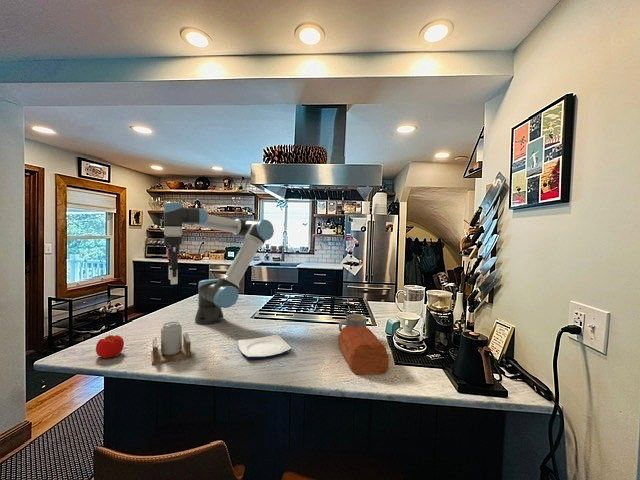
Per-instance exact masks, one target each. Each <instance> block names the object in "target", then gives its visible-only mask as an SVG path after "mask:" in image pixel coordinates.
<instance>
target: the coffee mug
mask: <svg viewBox="0 0 640 480" xmlns="http://www.w3.org/2000/svg"><path fill="white" fill-rule="evenodd" d="M343 325H345V327H346V326H355V327H356V326H364V327H366V328H367V317H366V316H365V315H363V314H353V313H352V314H347V315H346V316H345V320H341V321H339V323H338V330H339V332H341V330H342V329H343V328H342V326H343Z"/></svg>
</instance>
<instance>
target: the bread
mask: <svg viewBox="0 0 640 480" xmlns="http://www.w3.org/2000/svg"><path fill="white" fill-rule="evenodd" d="M339 332H340V331H339ZM337 340H338V341H337V342H338V343H337V345H338V348H339V349H340V351H341V352H340V353H341V354H342V355H343V358H344V360H345V362H346V364H347V365H348V368H349V369H350V371H351V372H352V373H353V374H354V375H361V376H369V375H371V376H373V375H383V374H386V372H387V371H388V370H389V363H390V361H389V360H390V357H389V354H388V353H387V347H386V346H385V345H384V344H383V343H382V342H381V341H380V340H379V339H378V337H377V336H376V335H375V334H374V332H373V331H372V330H371V329H370V328H369V327H367V326H366V327H364V326H356V327H355V326H346V325H345V326H344V327H343V328H342V330H341V332H340V333H339V335H338V338H337Z"/></svg>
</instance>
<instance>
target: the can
mask: <svg viewBox="0 0 640 480" xmlns="http://www.w3.org/2000/svg"><path fill="white" fill-rule="evenodd" d="M182 326H183V325H182V324H181V322H179V321H168V322H165V323H163V324H162V327H161V328H160V349H161V353H162V354H164V355H166V356H170V355H175V354H177V353H179V352H180V351H181V349H182V346H183V341H182V340H183V338H182V337H183V336H182V335H183V333H182V332H183V329H182V328H183V327H182Z"/></svg>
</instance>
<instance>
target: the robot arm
mask: <svg viewBox="0 0 640 480" xmlns="http://www.w3.org/2000/svg"><path fill="white" fill-rule="evenodd" d="M183 225H189V226H193V227H194V226H195V227H200V228H204V229H205V228H206V229H211V230H217V231H221V232H222V231H223V232H228V233H232V234H233V235H236V236H240V237H243V238H245V240H244V242H243V244H242V245H241V247H240V249H239V250H238V252H237V253H236V255H235V257H234V258H233V260H232V262H231V264H230V266H229V267H228V269H227V270H226V273H225V274H224V275H223V276H220V277H219V278H213V279H203V280H200V281H199V282H198V289H197V290H198V299H197V301H198V307H197V310H196V314H195V316H194V323H195V324H197V325H215V324H218V323H221V322H223V321H224V319H225V318H224V317H225V316H224V312H223V309H228V308H231V307H232V306H233V307H234V305H236V303H237V301H239V300H238V299H239V290H240V285H239V284H240V282H241V280H242V278H243V277H244V274H245V273H246V272H247V269H248V267H249V266H250V264H251V262H252V261H253V258H254V257H255V255H256V253H257V252H258V250H259V248H260V247H262V246H264V244H265V243H266V241H267V240H268V241H269V240H271V239H272V238H273V235H274V226H273V224H272V222H271V221H270V220H268V219H264V218H261V219H254V218H253V219H251V218H250V219H240V218H236V219H233V218H232V219H231V218H227V217H223V216H218V215H213V214H209V213H208V211H207V210H206V209H205V208H200V207H199V208H198V207H184V206H183V204H182V202H177V201H176V202H175V201H166V202H165V203H164V205H163V228H162V231H163V234H164V236H163V244H164V245H167V246H168V248H167V252H168V253H167V255H168V262H167V264H168V280H170V285H178V283H179V282H178V281H179V280H178V279H179V278H178V276H179V274H178V273H179V272H178V271H179V262H178V261H179V259H178V257H179V254H178V253H179V248H178V247H177V245H179V246H180V245H182V244H183V237H182V235H183Z"/></svg>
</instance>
